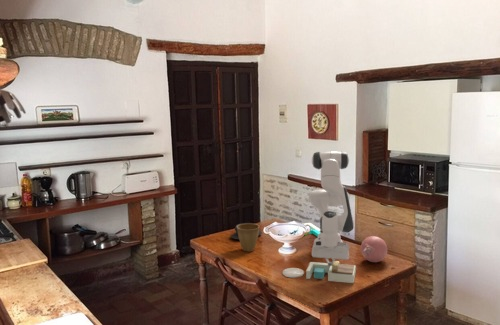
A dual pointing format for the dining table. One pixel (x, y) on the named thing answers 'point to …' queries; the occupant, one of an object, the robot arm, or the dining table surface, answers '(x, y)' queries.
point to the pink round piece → (374, 249)
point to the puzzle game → (313, 229)
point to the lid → (342, 268)
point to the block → (319, 273)
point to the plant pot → (248, 236)
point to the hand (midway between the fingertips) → (330, 265)
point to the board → (330, 273)
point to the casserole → (237, 232)
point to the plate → (293, 272)
